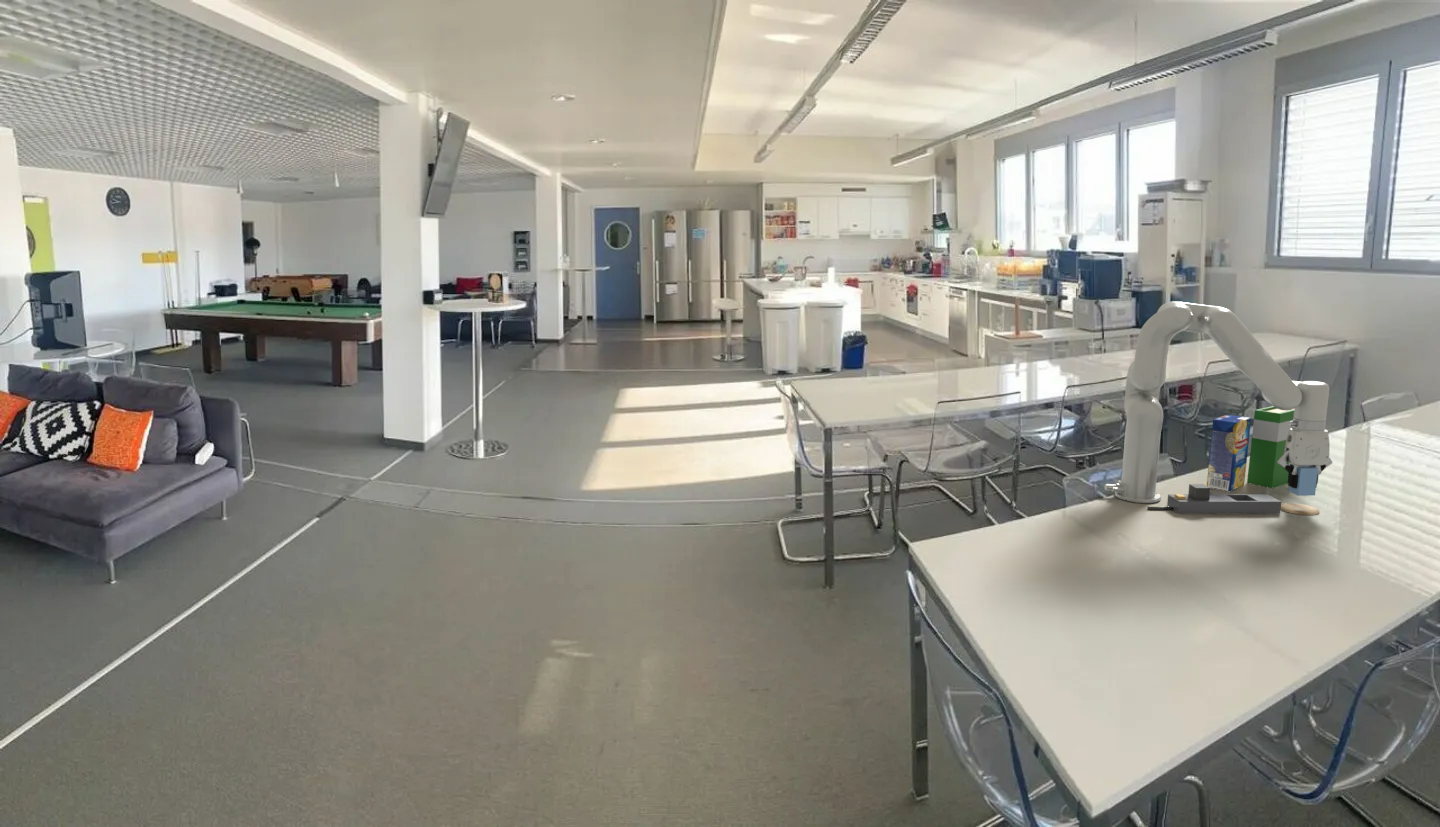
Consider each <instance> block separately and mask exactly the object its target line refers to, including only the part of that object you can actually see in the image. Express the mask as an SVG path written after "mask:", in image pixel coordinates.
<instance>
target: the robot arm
mask: <svg viewBox="0 0 1440 827" xmlns="http://www.w3.org/2000/svg"><path fill="white" fill-rule="evenodd" d="M1181 332H1189V333H1196V334H1197V333H1198V334H1207V335H1208V336H1209V337H1210V338H1211V340H1212V341H1213V342H1214V343H1215V344H1216V346H1217V347H1218V348H1219V349H1220V350H1221V351H1222V352H1223V353H1224V355H1225V356H1226V357H1227V358H1228V360H1229V361H1230V362H1231V364H1232V365H1233V366H1234V367H1235V368H1236V369H1237V370H1239V371H1240V372H1242V373H1243V374H1244V375H1245V376H1246V377H1247V378H1249V379H1250V380H1251V381H1252V383H1254V384H1255V386H1256V387H1257V388H1258V389H1259V390H1260V391H1261V395H1262V398H1263V399H1264V401H1266V402H1267V403H1268V404H1269V405H1271V406H1274V407H1276V408H1277V409H1280V410H1292V409H1294V417H1293V421H1289V423H1288V424H1289V426H1292V428H1291V429H1290V430H1289V433H1288V436H1287V439H1286V444H1285V449H1284V455H1283V456H1282V457H1281V458H1280V459H1279V460H1278V462H1277V463H1278V464H1279V465H1281V466H1282V467H1283V468H1284V469H1285V470H1286V471H1287V472H1288V473H1289V474H1288V483H1287V485H1288V487H1289V486H1290V487H1292V488H1297V483H1298V475H1297V471H1298V468H1299V466H1314V467H1316V468H1318V473H1317V482H1316V488H1317V486H1318V483H1319V477H1320V476H1319V475H1321V474H1322V472H1323V471H1324V470H1325V469H1327V468H1328V467H1329V466H1330V465H1333V460H1332V459H1331V457H1330V450H1331V449H1330V436H1329V430H1327V429H1326V424H1327V422H1326V421H1327V414H1328V413H1327V412H1328V406H1329V404H1328V403H1329V397H1330V396H1329V394H1330V386H1329V384H1328V383H1326V382H1322V381H1316V380H1304V381H1297V380H1292V379H1291V377H1290V376H1289V375H1288V374H1287V373H1286V371H1285V370H1284V369H1283V368H1282V367H1281V366H1280V365H1279V363H1277V361H1276V360H1274V358H1273V357H1272V356H1271V355H1270V352H1268V351H1267V349H1266V348H1265V347H1264V346H1263V345H1262V344H1261V343H1260V342H1259V341H1258V339H1257V338H1256V337H1255V336H1254V335H1253V333H1251V331H1250V330H1249V328H1247V327H1246V325H1245V324H1244V323H1243V322H1242V320H1240V318H1239V317H1238V316H1237V315H1236V314H1235V313H1234V312H1233V311H1232V310H1231V309H1228V308H1226V307H1223V306H1218V305H1209V304H1208V305H1207V304H1199V303H1191V302H1183V301H1176V300H1175V301H1174V300H1172V301H1168V302H1165V303H1163V304H1162V305H1161V306H1159V308H1158V310H1157V312H1156V313H1154V314H1153V315H1152V316H1151V317H1149V318H1148V319H1147V320H1146V321H1145V323H1144V324H1143V325H1142V327H1141V328H1140V331H1139V333H1138V337H1137V341H1136V347H1135V353H1134V359H1133V361H1132V362H1131V363H1130V365H1129V367H1128V369H1127V370H1128V371H1127V374H1126V383H1125V392H1124V403H1123V407H1124V408H1123V409H1124V411H1125V414H1126V423H1125V424H1126V425H1125V434H1124V443H1123V445H1124V446H1123V456H1122V457H1123V458H1122V469H1121V480H1117V482H1116V483H1114V484H1112V483H1104V490H1105V491H1111V492H1113V493H1114V496H1115V497H1116V498H1118V499H1120V500H1123V501H1126V500H1127V501H1126V502H1132V503H1137V504H1138V503H1139V504H1153V503H1157V502H1160V501H1161V500H1162V496H1161V494H1160V493H1158V492H1156V490H1157V480H1158V469H1159V457H1160V454H1159V453H1160V444H1161V434H1162V433H1161V432H1162V429H1163V421H1164V409H1163V407H1162V404H1161V403H1160V402H1159V398H1160V392H1161V391H1160V390H1161V388H1162V387H1163V385H1164V384H1165V381H1166V377H1167V376H1166V375H1167V361H1168V355H1169V354H1168V353H1169V348H1170V343H1171V341H1172V339H1173V338H1174V337H1175V336H1176V335H1177V334H1179V333H1181ZM1286 462H1289V465H1288V464H1286Z"/></svg>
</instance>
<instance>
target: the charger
mask: <svg viewBox="0 0 1440 827" xmlns="http://www.w3.org/2000/svg"><path fill="white" fill-rule="evenodd" d="M1317 473H1318V468H1316V467H1314V466H1299V468H1298V471H1297V475H1298V483H1297V488H1292V487H1290V486H1288V488H1287V489H1288V490H1287V492H1289V493H1292V494H1294V495H1296V496H1299V497H1300V496H1301V497H1302V496H1305V497H1306V496H1307V497H1308V496H1316V490H1317V487H1316V482H1317Z"/></svg>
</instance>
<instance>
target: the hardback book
mask: <svg viewBox="0 0 1440 827" xmlns="http://www.w3.org/2000/svg"><path fill="white" fill-rule="evenodd" d="M1293 417H1294V409H1292V410H1280V409H1277V408H1276V407H1274V406H1273V405H1271V406H1268V407H1263V408H1259V409H1258V408H1257V409H1255V410H1254V418H1253V426H1252V433H1251V434H1252V436H1251V441H1250V442H1251V443H1250V452H1249V462H1248V472H1247V480H1246V483H1247V484H1249V483H1251V484H1250V485H1254V484H1255V485H1254V486H1258V485H1260V486H1259V487H1263V486H1264V487H1265V488H1267V487H1268V489H1274V488H1277V487H1281V486H1284V485H1286V484H1287V485H1288V474H1289V473H1288V472H1287V471H1286V470H1285V469H1284V468H1283V467H1282V466H1281V465H1279V464H1278V463H1277V462H1278V460H1279V459H1280V458H1281V457H1282V456H1283V455H1284V449H1285V444H1286V439H1287V436H1288V433H1289V430H1290V429H1291V428H1292V426H1289V424H1288V423H1289V421H1293ZM1286 464H1288V465H1289V462H1286Z"/></svg>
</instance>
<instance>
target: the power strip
mask: <svg viewBox="0 0 1440 827" xmlns="http://www.w3.org/2000/svg"><path fill="white" fill-rule="evenodd" d="M1211 489H1212V488H1210V487H1208V486H1207V484H1204V483H1189V485H1188V494H1186V493H1184V494H1182V493H1174V494H1173V493H1171V494H1170V493H1169V494H1168V493H1167V504H1166V506H1147V507H1146V509H1147V510H1148V511H1163V510H1162V509H1165V510H1164V511H1174V512H1175V511H1176V512H1175V513H1177V514H1178V513H1253V514H1254V515H1255V514H1256V513H1263V515H1265V514H1266V515H1267V514H1268V513H1272V514H1273V513H1274V515H1275V514H1276V513H1278V515H1279V514H1281V511H1282V510H1281V504H1282V501H1281V500H1280V499H1278V498H1276V497H1273V496H1272V495H1270V494H1267V493H1264V494H1263V493H1262V494H1260V493H1259V494H1257V493H1256V494H1255V493H1253V494H1251V493H1250V494H1249V493H1246V494H1245V493H1244V494H1242V493H1234V494H1233V493H1232V494H1231V493H1230V494H1228V493H1224V494H1222V493H1221V494H1220V493H1217V494H1216V493H1214V494H1213V493H1212V494H1211ZM1168 506H1169V507H1168ZM1159 509H1160V510H1159ZM1166 509H1168V510H1166ZM1253 514H1252V515H1253ZM1256 515H1257V514H1256Z"/></svg>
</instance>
